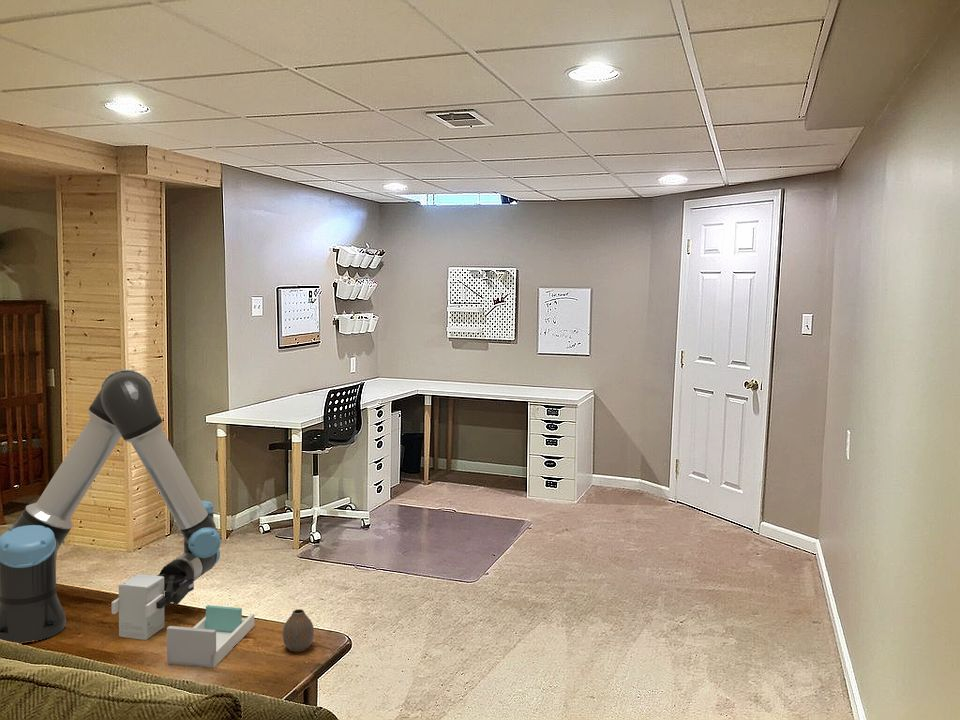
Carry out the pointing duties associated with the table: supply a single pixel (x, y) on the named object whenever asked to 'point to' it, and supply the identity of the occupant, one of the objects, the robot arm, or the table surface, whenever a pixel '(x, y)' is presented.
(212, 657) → the tray
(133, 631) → the supplement box
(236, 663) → the table surface
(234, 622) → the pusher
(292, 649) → the vase
